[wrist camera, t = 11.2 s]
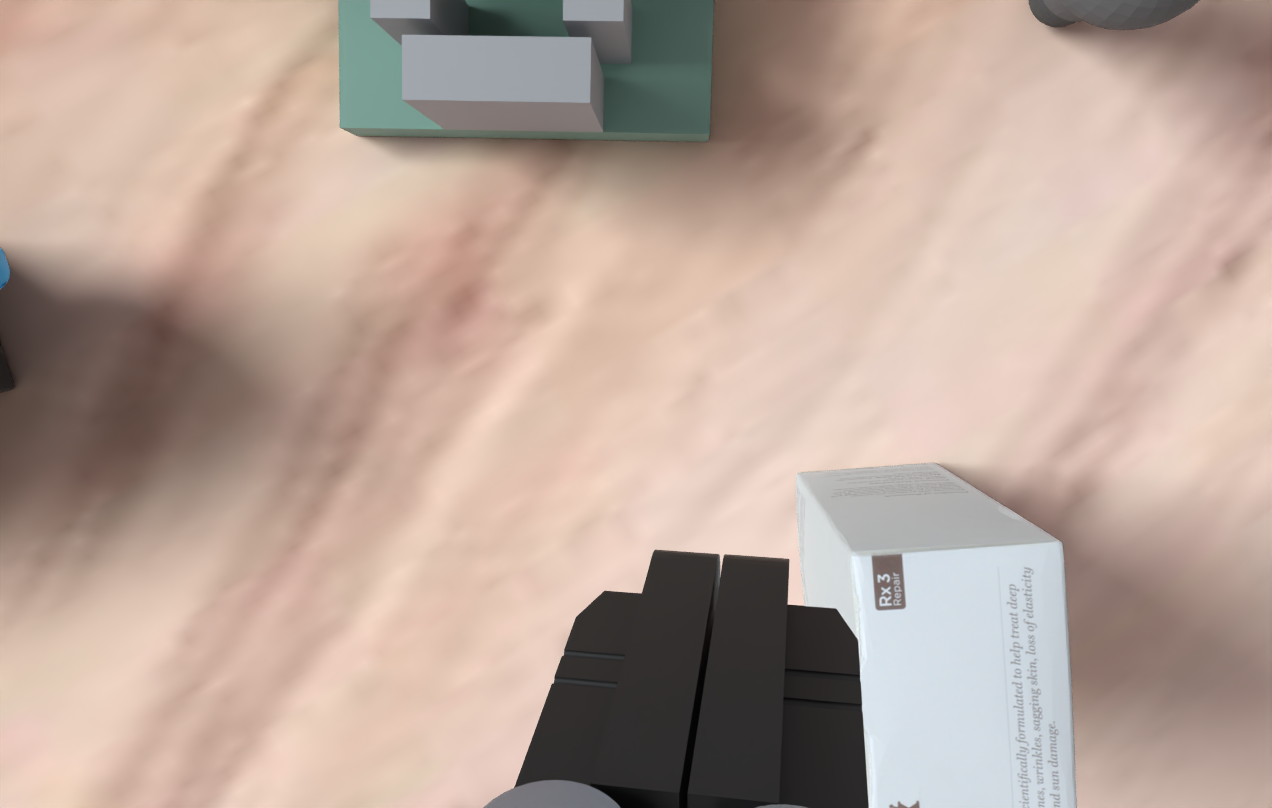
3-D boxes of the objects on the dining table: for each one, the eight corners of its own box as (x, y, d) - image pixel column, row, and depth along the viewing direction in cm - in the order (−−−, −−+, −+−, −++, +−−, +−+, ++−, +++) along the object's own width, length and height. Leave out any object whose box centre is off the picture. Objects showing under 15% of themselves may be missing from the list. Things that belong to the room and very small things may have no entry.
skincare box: (944, 648, 42) (1094, 846, 27) (798, 658, 42) (867, 860, 27) (934, 449, 41) (1083, 540, 26) (785, 460, 41) (848, 557, 26)
